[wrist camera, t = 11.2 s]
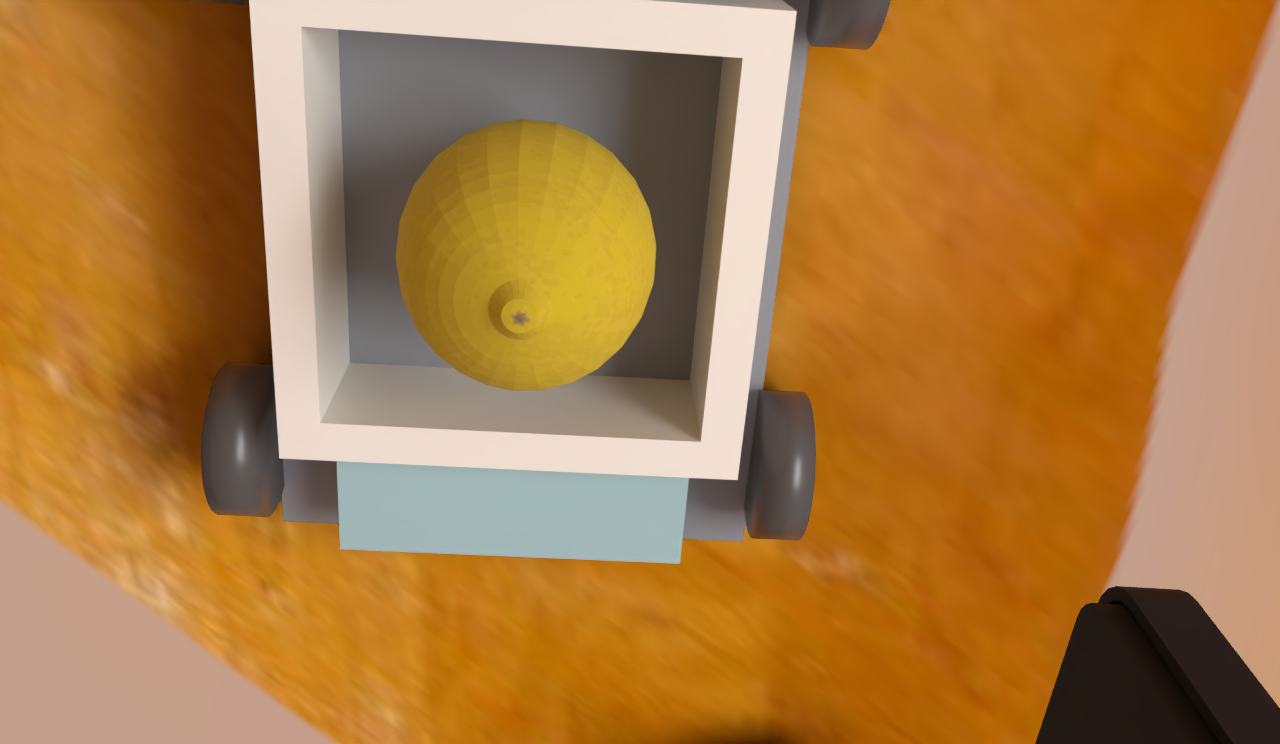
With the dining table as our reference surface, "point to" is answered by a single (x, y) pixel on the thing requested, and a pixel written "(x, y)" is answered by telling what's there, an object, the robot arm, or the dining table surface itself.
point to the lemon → (526, 255)
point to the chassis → (490, 416)
